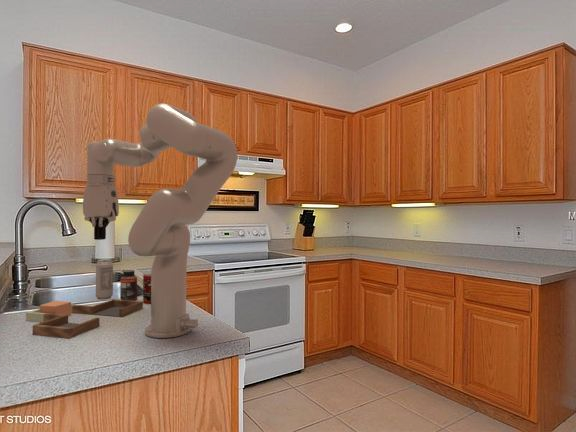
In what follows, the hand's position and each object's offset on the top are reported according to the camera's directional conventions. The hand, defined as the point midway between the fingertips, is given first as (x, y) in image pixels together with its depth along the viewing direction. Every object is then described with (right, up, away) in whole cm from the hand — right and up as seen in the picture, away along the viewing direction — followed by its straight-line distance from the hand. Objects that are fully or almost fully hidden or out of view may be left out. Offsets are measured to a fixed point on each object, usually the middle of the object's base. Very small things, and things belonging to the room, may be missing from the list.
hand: (99, 239), depth 116 cm
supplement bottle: (-2, -25, +25) cm, 36 cm away
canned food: (+9, -25, +23) cm, 35 cm away
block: (-15, -25, +1) cm, 29 cm away
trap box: (-7, -25, -1) cm, 26 cm away
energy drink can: (-12, -25, +27) cm, 39 cm away
